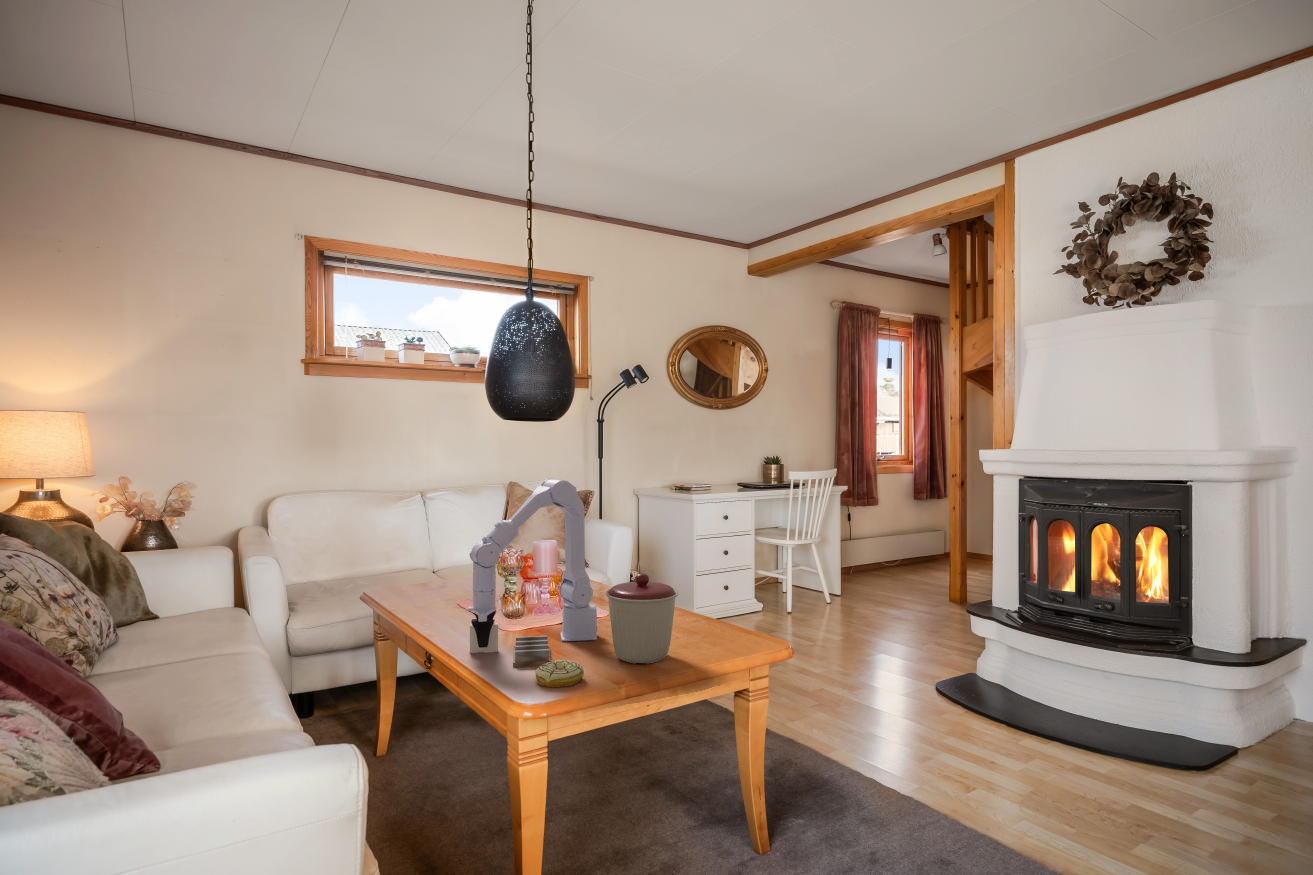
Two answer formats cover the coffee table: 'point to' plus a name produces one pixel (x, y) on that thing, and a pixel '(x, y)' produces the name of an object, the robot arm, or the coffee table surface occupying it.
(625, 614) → the canister
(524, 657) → the dish rack
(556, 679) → the decorated donut
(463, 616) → the coffee table surface
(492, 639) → the upright cream panel
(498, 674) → the coffee table surface
